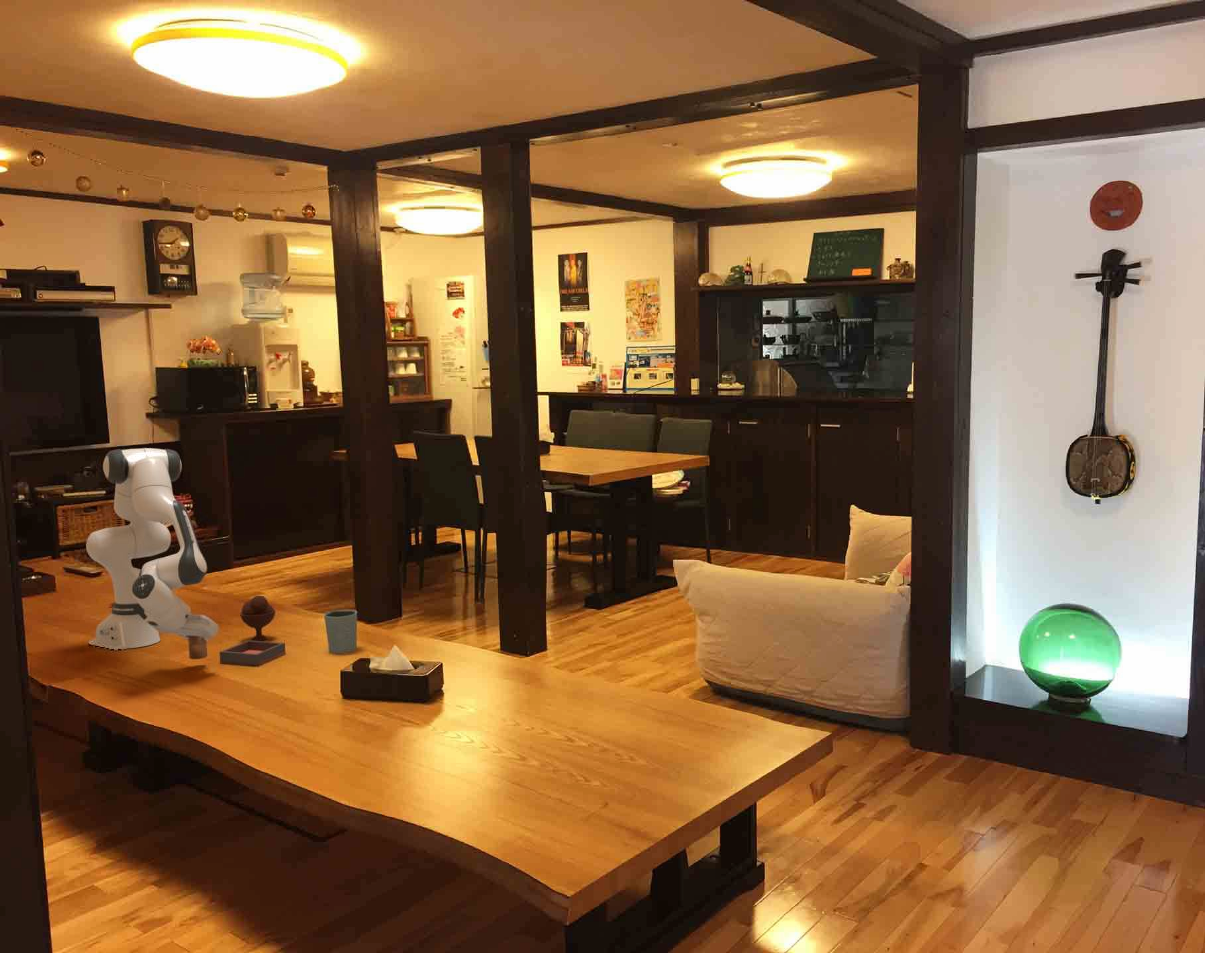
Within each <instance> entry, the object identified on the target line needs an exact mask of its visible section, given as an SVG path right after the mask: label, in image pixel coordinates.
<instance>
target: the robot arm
mask: <svg viewBox="0 0 1205 953" xmlns="http://www.w3.org/2000/svg"><path fill="white" fill-rule="evenodd" d="M102 468H103V469H102V470H103V473H104V476H105V478H106V479H107V480H108V482H110V483H112V484H115V488H114V489H115V491H114V501H113V509H114V510H113V511H114V512H115V513H116V515H117V516H118V517H119V518H121V519H124V520H126V521H128V522H130V523H129V524H127V525H121V526H113V527H105V528H102V529H98V530H95V531H93V532H91V533H90V534H89V536H88V537H87V539H86V542H85V544H86V545H85V547H86V552H87V554H88V556H89V557H90V558H91V560H93V561H94V562H97V563H98V564H100V565H101V566H102V567H104V569H105V570H106V571H107V572H108V574H109V576H110V578H111V581H112V586H113V593H114V602H113V603H110V604H109V607H108V609H111V611H110V612H111V613H110V614H109V615H108V616H107V617H106V618H104V619H103V620H102V621H101V622H100V623H99V624H97V626H96V629H95V638H93V639H91V640H89V641H88V643H89V644H92V645H97V646H100V647H105V648H104V649H106V648H109V649H108V650H111V649H114V650H113V651H119V650H118V649H121V650H126V649H133V648H134V649H135V648H142V647H146V646H152V645H154V644H157V643H159V642H160V641H161V638H160V633H163V634H169V635H171V634H172V635H178V636H180V637H182V638H184V639H185V640H188V635H190V636H200V637H202V638H201V639H202V640H203V641H206V642H209V641H210V639H211V638H215V637H216V635H217V634H218V631H219V629H220V627H219V625H218V624H217V623H216V622H215V621H214V620H212V619H211V618H210V617H208V616H207V615H203V614H193V613H191V608H190V606H189V605H188V604H187V603H186V602H185V601H184V600H182V599H181V598H180V596H178V595H176V594H175V593H174V590H175V589H178V588H182V587H185V586H186V587H187V586H191V585H192V586H193V585H197V584H200V583H201V582H202V581H203V580H204V579H205V577H206V574H207V572H208V565H207V562H206V559H205V556H204V554H203V552H202V550H201V548H200V545H199V542H198V539H197V536H196V532H195V529H194V527H193V523H192V521H191V518H190V515H189V512H188V510H187V508H186V507H185V505H184V504H183V503H182V502H181V501H178V500H176V498H175V497H174V493H173V486H172V482H175V481H177V479H178V478H179V477H180V475H181V472H182V461H181V457H180V454H179V453H178V452H177V451H176V450H172V449H169V448H164V449H162V448H153V447H152V448H151V447H149V448H147V447H142V448H129V449H121V448H119V449H114V450H110V451H109V452H107V453H106V455H105V457H104V460H103V464H102ZM165 524H170V525H172V526H173V528H174V531H175V534H176V538H177V541H178V544H179V547H180V549H179V551H177V553H174V554H170V555H168V556H164V557H160V558H155V559H153V560H150V561H148V562H145V563H144V564H143V565H142V567H141V569H140V568H137V567H134V566H133V564H132V560H133V559H140V558H146V557H153V556H156V555H159V554H162V553H165V552H167V551H168V549H169V547H170V546H171V542H172V536H171V532H170V530H169V528H168V527H167V526H166V525H165ZM159 632H160V633H159ZM100 647H99V648H100Z"/></svg>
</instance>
